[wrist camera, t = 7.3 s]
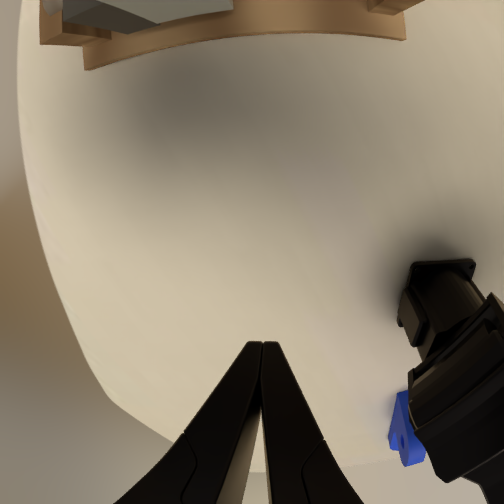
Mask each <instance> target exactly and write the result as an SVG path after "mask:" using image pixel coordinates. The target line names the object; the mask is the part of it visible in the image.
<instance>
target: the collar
mask: <svg viewBox="0 0 504 504" xmlns="http://www.w3.org/2000/svg"><path fill="white" fill-rule="evenodd" d="M63 22H69V23H75V24H81V25H87V26H92V27H97V28H102V29H106V30H111V31H115V32H119V33H123V34H127V35H128V34H131V33H134V32H138V31H141V30H145V29H148V28H152V27H156V26H160V23H158V24H156V23H154V22H152V21H150V20H147V19H145V18H143V17H140V16H138V15H135V14H133V13H130V12H128V11H125V10H123V9H120V8H117V7H115V6H112V5H109V4H106V3H104V2H101V1H98V0H63Z"/></svg>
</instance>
